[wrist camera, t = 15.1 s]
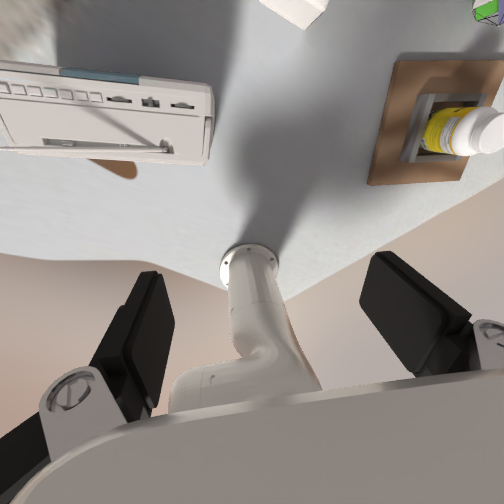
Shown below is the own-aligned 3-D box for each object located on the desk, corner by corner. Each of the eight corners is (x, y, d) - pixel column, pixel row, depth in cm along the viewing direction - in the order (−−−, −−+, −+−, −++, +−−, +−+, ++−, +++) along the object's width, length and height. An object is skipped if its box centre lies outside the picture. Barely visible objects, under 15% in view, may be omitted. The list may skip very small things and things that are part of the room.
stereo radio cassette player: (214, 91, 34) (210, 66, 17) (214, 152, 38) (210, 182, 21) (55, 74, 31) (-148, 22, 14) (74, 142, 35) (-65, 167, 18)
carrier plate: (454, 179, 45) (471, 183, 42) (367, 183, 44) (378, 189, 41) (502, 61, 36) (529, 56, 33) (394, 62, 35) (412, 57, 31)
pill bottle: (457, 113, 38) (535, 112, 29) (435, 152, 41) (499, 164, 32) (426, 103, 37) (497, 99, 27) (406, 145, 40) (464, 154, 30)
